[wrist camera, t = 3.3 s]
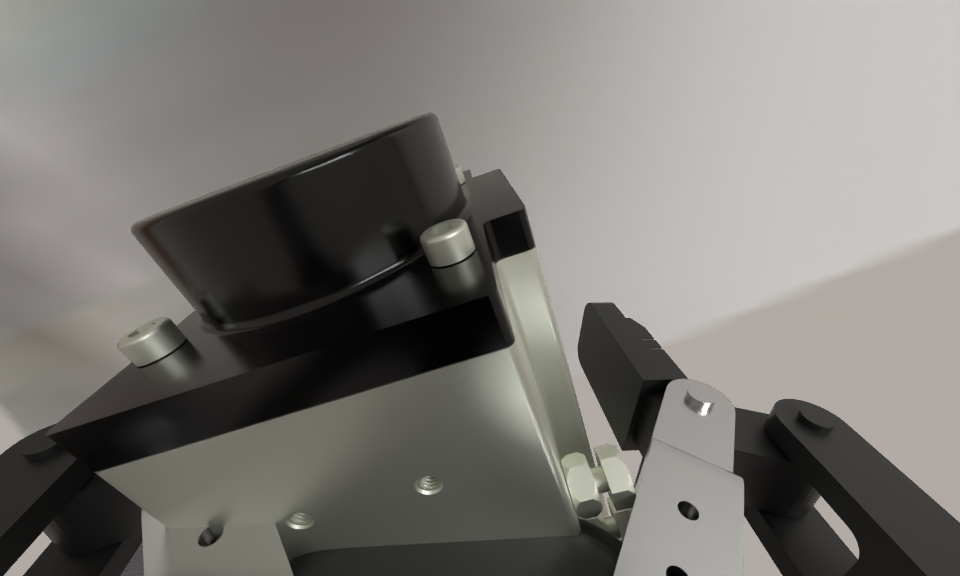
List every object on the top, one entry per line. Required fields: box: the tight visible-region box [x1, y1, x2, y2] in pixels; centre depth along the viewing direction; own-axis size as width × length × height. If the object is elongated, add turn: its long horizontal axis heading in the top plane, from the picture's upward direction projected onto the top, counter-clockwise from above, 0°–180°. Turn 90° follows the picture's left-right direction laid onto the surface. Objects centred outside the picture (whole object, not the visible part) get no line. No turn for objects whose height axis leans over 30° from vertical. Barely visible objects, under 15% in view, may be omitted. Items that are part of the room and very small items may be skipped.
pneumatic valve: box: [45, 113, 636, 561], centre depth 10 cm, size 6×12×12 cm, turn 18°
